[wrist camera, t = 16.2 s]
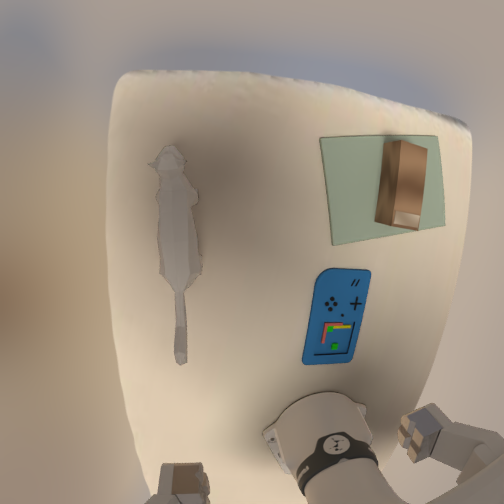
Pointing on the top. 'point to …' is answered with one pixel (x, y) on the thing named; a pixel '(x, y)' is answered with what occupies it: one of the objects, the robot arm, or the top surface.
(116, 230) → the top surface
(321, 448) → the robot arm
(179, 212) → the cat figurine
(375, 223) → the rubber mat
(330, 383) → the top surface
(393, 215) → the walnut block
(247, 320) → the top surface
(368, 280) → the handheld gaming device
